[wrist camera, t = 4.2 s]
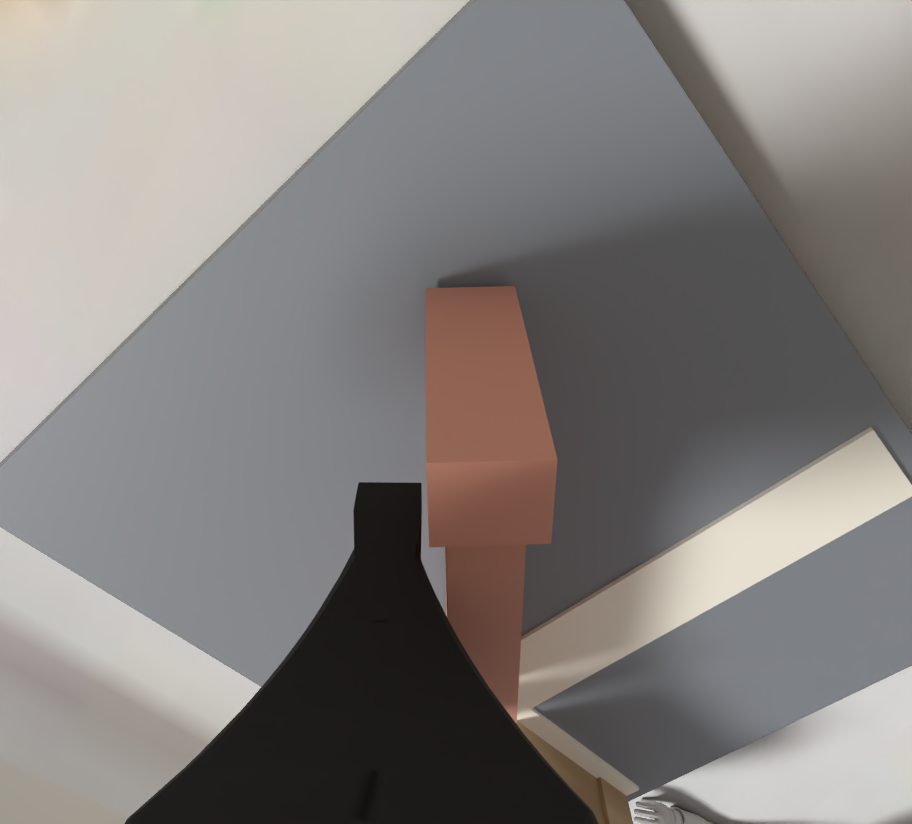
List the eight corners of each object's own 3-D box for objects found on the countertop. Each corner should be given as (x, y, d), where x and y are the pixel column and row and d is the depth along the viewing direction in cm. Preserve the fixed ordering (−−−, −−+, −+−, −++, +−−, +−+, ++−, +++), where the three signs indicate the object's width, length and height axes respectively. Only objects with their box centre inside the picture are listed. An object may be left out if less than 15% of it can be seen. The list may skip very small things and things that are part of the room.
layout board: (1010, 589, 17) (1031, 613, 17) (525, 828, 22) (527, 853, 21) (558, -87, 10) (567, -88, 9) (-21, 484, 15) (-40, 507, 14)
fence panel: (501, 685, 17) (523, 906, 13) (439, 688, 17) (443, 910, 13) (514, 286, 12) (557, 459, 8) (425, 288, 12) (426, 462, 8)
